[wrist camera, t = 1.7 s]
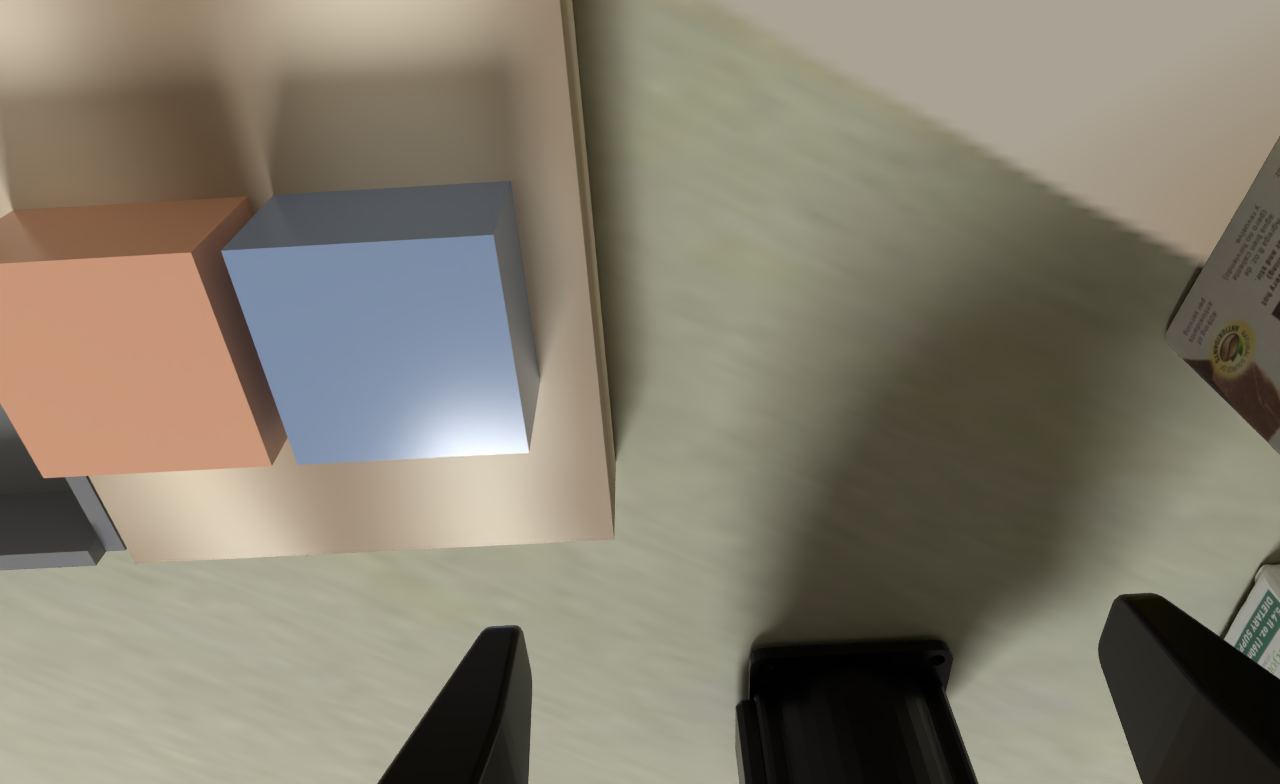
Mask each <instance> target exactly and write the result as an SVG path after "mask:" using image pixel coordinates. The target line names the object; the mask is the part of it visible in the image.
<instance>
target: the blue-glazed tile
mask: <svg viewBox="0 0 1280 784" xmlns="http://www.w3.org/2000/svg"><path fill="white" fill-rule="evenodd" d="M221 252H222V255H223V258H224V261H225V263H226V266H227V269H228V272H229V275H230V277H231V280H232V283H233V286H234V289H235V291H236V294H237V297H238V300H239V303H240V305H241V308H242V311H243V314H244V317H245V319H246V322H247V325H248V328H249V331H250V333H251V336H252V339H253V342H254V345H255V347H256V350H257V353H258V356H259V359H260V361H261V364H262V367H263V370H264V372H265V375H266V378H267V381H268V384H269V386H270V389H271V392H272V395H273V398H274V400H275V403H276V406H277V409H278V412H279V414H280V417H281V420H282V423H283V426H284V428H285V431H286V434H287V437H288V440H289V442H290V445H291V448H292V451H293V454H294V456H295V459H296V462H297V465H305V464H324V463H343V462H362V461H381V460H400V459H419V458H438V457H457V456H476V455H496V454H515V453H529V451H530V444H531V438H532V431H533V425H534V419H535V412H536V406H537V399H538V393H539V387H540V376H539V369H538V363H537V356H536V349H535V342H534V335H533V328H532V322H531V315H530V308H529V301H528V294H527V287H526V280H525V274H524V267H523V260H522V253H521V246H520V239H519V232H518V226H517V219H516V212H515V205H514V198H513V191H512V185H511V181H498V182H482V183H465V184H448V185H431V186H415V187H398V188H381V189H364V190H347V191H331V192H314V193H297V194H280V195H273V196H272V197H271V198H270V199H269V200H268V201H267V202H266V203H265V204H264V205H263V206H262V207H261V209H260V210H259V211H258V212H257V213H256V214H255V215H254V216H253V217H252V218H251V219H250V220H249V221H248V222H247V223H246V225H245V226H244V227H243V228H242V229H241V230H240V231H239V232H238V233H237V234H236V235H235V236H234V237H233V238H232V239H231V241H230V242H229V243H228V244H227V245H226V246H225V247H224V248H223V249H222V250H221Z"/></svg>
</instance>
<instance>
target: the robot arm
mask: <svg viewBox="0 0 1280 784" xmlns="http://www.w3.org/2000/svg"><path fill="white" fill-rule="evenodd" d="M1098 653H1099V660H1100V664H1101V667H1102V670H1103V673H1104V676H1105V678H1106V681H1107V684H1108V687H1109V690H1110V693H1111V696H1112V698H1113V701H1114V704H1115V707H1116V710H1117V713H1118V715H1119V718H1120V721H1121V724H1122V727H1123V730H1124V733H1125V735H1126V738H1127V741H1128V744H1129V747H1130V750H1131V753H1132V755H1133V758H1134V761H1135V764H1136V767H1137V770H1138V773H1139V775H1140V778H1141V780H1142V783H1143V784H1280V679H1279V678H1278V677H1276V676H1275V675H1273V674H1272V673H1270V672H1269V671H1268V670H1266V669H1265V668H1263V667H1262V666H1261V665H1259V664H1258V663H1256V662H1255V661H1253V660H1252V659H1251V658H1249V657H1248V656H1246V655H1245V654H1243V653H1242V652H1241V651H1239V650H1238V649H1236V648H1235V647H1234V646H1232V645H1231V644H1229V643H1228V642H1226V641H1225V640H1224V639H1222V638H1221V637H1219V636H1218V635H1216V634H1215V633H1214V632H1212V631H1211V630H1209V629H1208V628H1207V627H1205V626H1204V625H1202V624H1201V623H1199V622H1198V621H1197V620H1195V619H1194V618H1192V617H1191V616H1189V615H1188V614H1187V613H1185V612H1184V611H1182V610H1181V609H1180V608H1178V607H1177V606H1175V605H1174V604H1172V603H1171V602H1170V601H1168V600H1167V599H1165V598H1164V597H1162V596H1160V595H1157V594H1154V593H1140V594H1123V595H1119V596H1118V597H1117V598H1116V599H1115V600H1114V602H1113V604H1112V606H1111V609H1110V612H1109V615H1108V618H1107V620H1106V623H1105V626H1104V629H1103V632H1102V635H1101V637H1100V640H1099V646H1098ZM952 661H953V657H952V653H951V651H950V648H949V646H948V644H947V643H946V642H944V641H941V640H925V641H904V642H883V643H861V644H840V645H819V646H797V647H776V648H762V649H758V650H755V651H753V652H752V653H751V654H750V656H749V662H748V699H746V700H741V701H740V702H739V703H738V704H737V706H736V741H735V748H736V758H737V766H738V775H739V784H978V781H977V778H976V776H975V773H974V770H973V767H972V765H971V762H970V759H969V756H968V753H967V751H966V748H965V745H964V742H963V740H962V737H961V734H960V731H959V729H958V726H957V723H956V720H955V718H954V715H953V712H952V709H951V706H950V704H949V701H948V698H947V695H946V693H945V692H946V688H947V683H948V679H949V674H950V670H951V665H952ZM531 705H532V676H531V668H530V664H529V659H528V654H527V649H526V644H525V639H524V634H523V631H522V629H521V628H520V627H519V626H516V625H508V626H491V627H487V628H486V629H484V630H483V631H482V632H481V633H480V635H479V636H478V638H477V639H476V641H475V642H474V644H473V645H472V647H471V648H470V649H469V651H468V652H467V654H466V655H465V657H464V658H463V660H462V661H461V663H460V664H459V665H458V667H457V668H456V670H455V671H454V673H453V674H452V676H451V677H450V679H449V680H448V682H447V683H446V684H445V686H444V687H443V689H442V690H441V692H440V693H439V695H438V696H437V698H436V699H435V700H434V702H433V703H432V705H431V706H430V708H429V709H428V711H427V712H426V714H425V715H424V716H423V718H422V719H421V721H420V722H419V724H418V725H417V727H416V728H415V730H414V731H413V732H412V734H411V735H410V737H409V738H408V740H407V741H406V743H405V744H404V746H403V747H402V748H401V750H400V751H399V753H398V754H397V756H396V757H395V759H394V760H393V762H392V763H391V764H390V766H389V767H388V769H387V770H386V772H385V773H384V775H383V776H382V778H381V779H380V780H379V782H378V783H377V784H528V776H529V752H530V729H531Z"/></svg>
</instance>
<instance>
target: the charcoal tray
mask: <svg viewBox="0 0 1280 784" xmlns="http://www.w3.org/2000/svg"><path fill="white" fill-rule="evenodd" d="M126 549H127V547H126V545H125V543H124V541H123V539H122V538H121V536H120V534H119V532H118V530H117V528H116V526H115V525H114V523H113V521H112V519H111V517H110V515H109V513H108V511H107V510H106V508H105V506H104V504H103V502H102V500H101V498H100V497H99V495H98V493H97V491H96V489H95V487H94V485H93V484H92V482H91V480H90V478H89V476H76V477H57V478H43V476H42V475H41V473H40V471H39V469H38V468H37V466H36V464H35V463H34V461H33V459H32V457H31V456H30V454H29V452H28V450H27V449H26V447H25V445H24V443H23V442H22V440H21V438H20V436H19V435H18V433H17V431H16V430H15V428H14V426H13V424H12V423H11V421H10V419H9V417H8V416H7V414H6V412H5V410H4V409H3V407H2V405H1V403H0V570H15V569H35V568H55V567H75V566H95V565H97V563H98V562H99V561H100V559H101V558H102V556H103V555H104V554H105V552H106V551H121V550H126Z"/></svg>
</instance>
